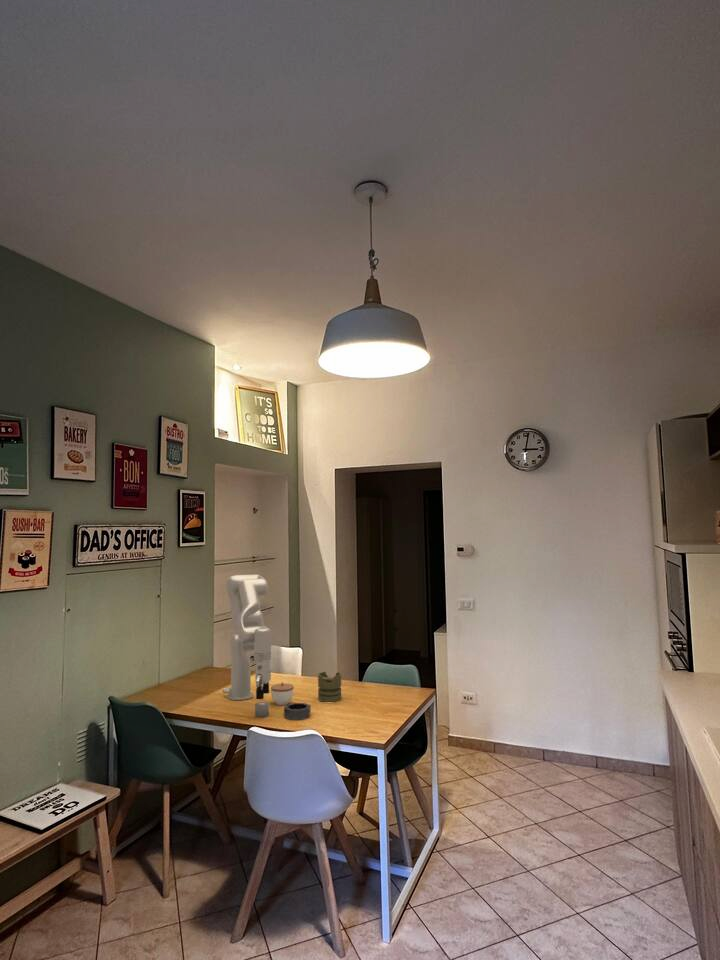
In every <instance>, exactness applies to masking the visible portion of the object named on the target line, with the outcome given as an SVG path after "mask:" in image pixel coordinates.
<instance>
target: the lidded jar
mask: <svg viewBox="0 0 720 960" xmlns="http://www.w3.org/2000/svg"><path fill="white" fill-rule="evenodd" d="M270 691H271V692H270V693H271V698H272V701H273V702H274V703H275V705H277V706H284V705H285V706H286V705H288V704H290V702H291V701H292V699H293V697H294V685H293V684H291V683H284V682H281V683H277V684H273V685H271V687H270Z"/></svg>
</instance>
